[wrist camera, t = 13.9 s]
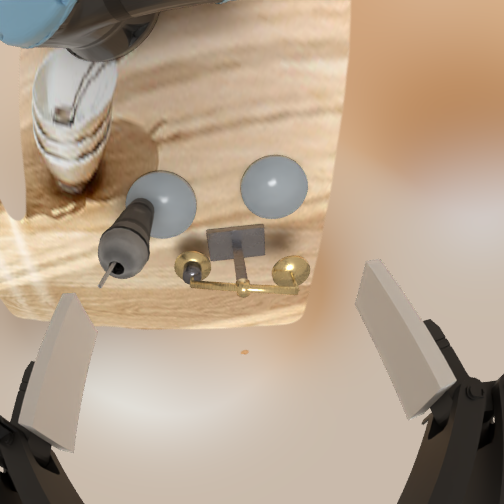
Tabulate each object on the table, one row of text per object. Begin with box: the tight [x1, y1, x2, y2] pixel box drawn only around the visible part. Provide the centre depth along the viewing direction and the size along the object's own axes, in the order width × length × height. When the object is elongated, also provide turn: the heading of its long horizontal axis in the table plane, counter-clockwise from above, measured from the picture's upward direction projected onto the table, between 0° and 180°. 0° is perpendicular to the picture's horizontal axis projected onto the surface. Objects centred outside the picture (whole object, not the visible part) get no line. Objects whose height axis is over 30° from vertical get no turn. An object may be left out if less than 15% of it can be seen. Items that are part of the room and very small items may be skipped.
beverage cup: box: [98, 198, 155, 288], centre depth 36 cm, size 7×7×20 cm
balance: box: [175, 224, 310, 298], centre depth 46 cm, size 6×21×15 cm, turn 93°
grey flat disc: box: [126, 171, 196, 238], centre depth 45 cm, size 12×12×1 cm
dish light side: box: [241, 155, 308, 219], centre depth 46 cm, size 11×11×1 cm
